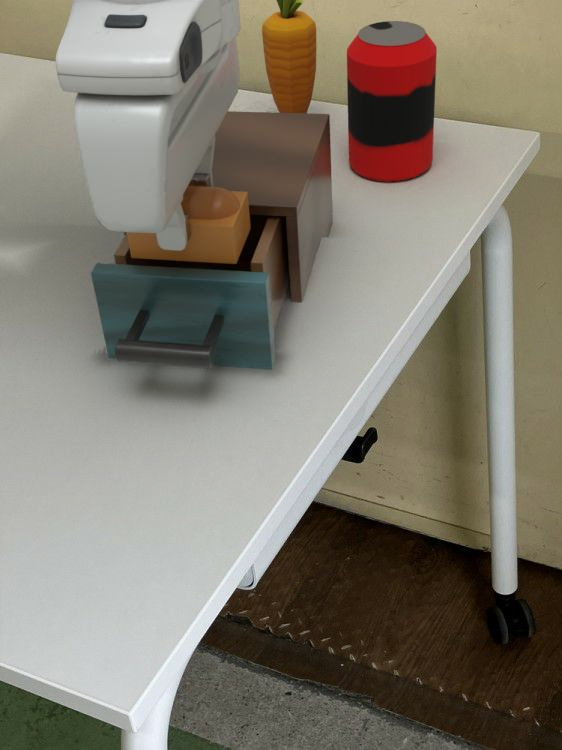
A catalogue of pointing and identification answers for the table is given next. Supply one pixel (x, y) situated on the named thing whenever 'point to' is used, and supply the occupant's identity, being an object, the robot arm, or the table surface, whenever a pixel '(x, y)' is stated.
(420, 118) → the soda can
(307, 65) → the carrot
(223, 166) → the cabinet
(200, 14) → the robot arm
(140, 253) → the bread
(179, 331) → the drawer
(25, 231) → the table surface
